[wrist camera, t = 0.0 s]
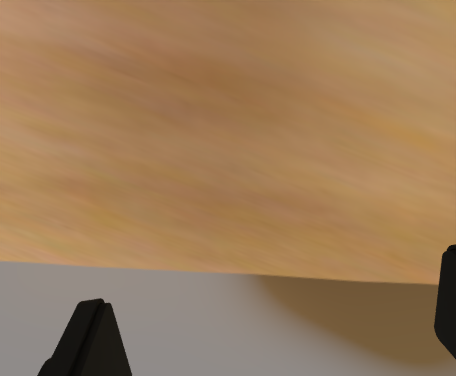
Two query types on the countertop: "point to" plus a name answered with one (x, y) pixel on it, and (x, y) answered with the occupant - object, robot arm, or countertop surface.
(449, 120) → the countertop surface
